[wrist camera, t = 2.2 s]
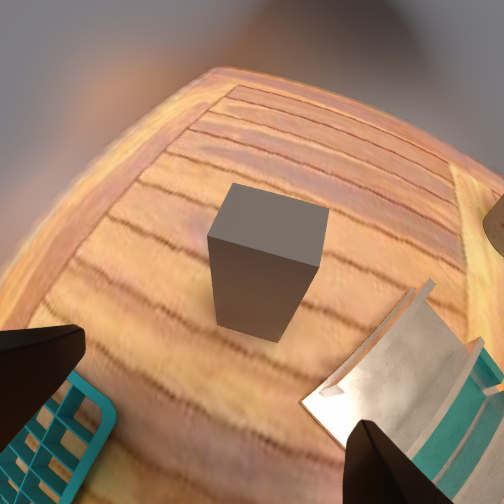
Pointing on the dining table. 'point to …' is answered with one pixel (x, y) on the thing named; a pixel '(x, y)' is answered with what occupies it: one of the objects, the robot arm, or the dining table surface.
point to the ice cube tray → (55, 449)
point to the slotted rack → (423, 400)
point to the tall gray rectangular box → (263, 259)
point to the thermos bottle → (496, 225)
